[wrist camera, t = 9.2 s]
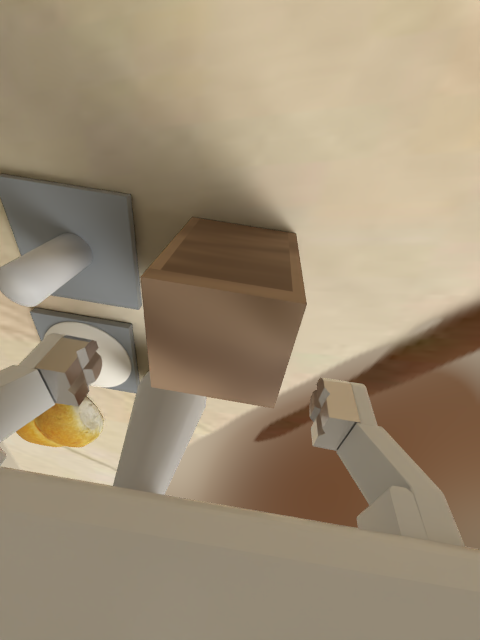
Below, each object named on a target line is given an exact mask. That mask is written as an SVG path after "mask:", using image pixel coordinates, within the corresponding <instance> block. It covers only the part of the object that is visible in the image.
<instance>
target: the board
mask: <svg viewBox="0 0 480 640" xmlns="http://www.w3.org/2000/svg"><path fill="white" fill-rule="evenodd" d="M0 198H1V201H2V204H3V206H4V209H5V212H6V215H7V218H8V220H9V223H10V226H11V229H12V231H13V234H14V237H15V240H16V243H17V245H18V248H19V251H20V254H21V256H20V257H18V258H17V259H15V260H13V261H11V262H9V263H7V264H5V265H4V266H2V267H0V290H1V292H2V293H3V294H4V295H5V296H6V297H8V298H9V299H10V300H12V301H13V302H15V303H17V304H20V305H22V306H27V307H33V306H36V305H38V304H39V303H41V302H42V301H43V300H44V299H46V298H47V297H48V296H50V295H53V296H59V297H65V298H71V299H77V300H83V301H89V302H95V303H101V304H107V305H113V306H119V307H125V308H131V309H137V310H139V309H140V307H141V306H142V302H141V292H140V282H139V272H138V262H137V252H136V242H135V232H134V222H133V211H132V201H131V194H124V193H118V192H112V191H106V190H99V189H93V188H87V187H81V186H74V185H68V184H62V183H56V182H49V181H43V180H37V179H31V178H24V177H18V176H12V175H6V174H0Z"/></svg>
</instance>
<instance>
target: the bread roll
mask: <svg viewBox="0 0 480 640" xmlns="http://www.w3.org/2000/svg"><path fill="white" fill-rule="evenodd" d="M103 423H104V419H103V417H102V415H101V414H100V412H99V410H98V408H97V407H96V406H95V405H94V403H93V402H91V401H90V400H89V399H88V398H87V397H85V398H84V400H83V401H82V403H81V404H80V406H72V405H64V404H57V403H55V405H54V406H52V407H51V408H49V409H48V410H47V411H45V412H44V413H42V414H41V415H39V416H38V417H36V418H35V419H33V420H32V421H31V422H29V423H28V424H26V425H25V426H23V427H22V428H20V429H19V430H18V431H16V432H17V434H18V435H19V436H20V437H22V438H23V439H24V440H26V441H29V442H31V443H35V444H40V445H45V446H52V447H61V446H68V447H83V446H85V445H87V444H89V443H91V442H92V441H94V440H95V439H96V438H97V437H98V436H99V434H100V433H101V432H102V429H103Z"/></svg>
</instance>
